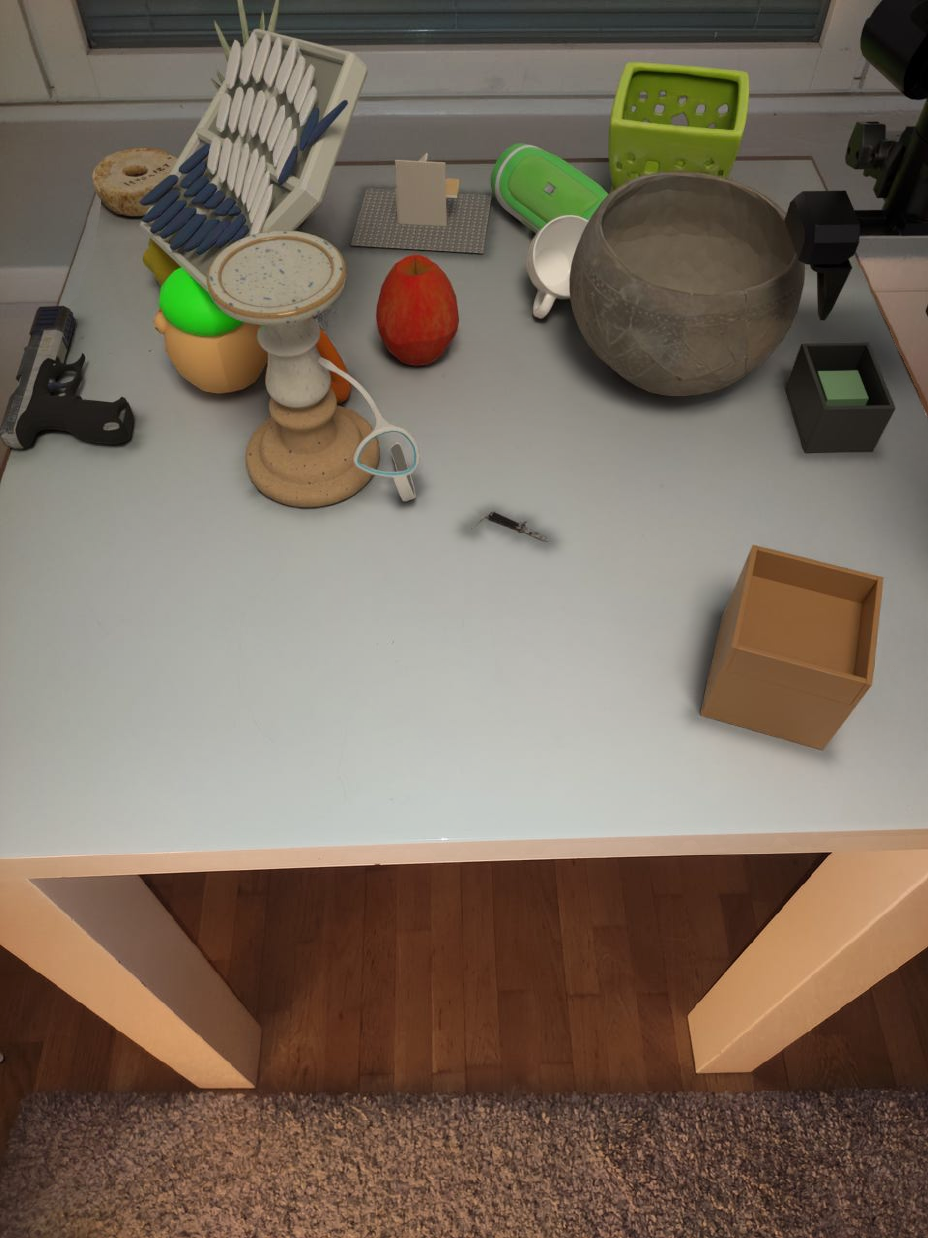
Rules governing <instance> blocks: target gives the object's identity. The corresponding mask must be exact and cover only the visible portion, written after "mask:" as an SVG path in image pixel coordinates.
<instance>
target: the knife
mask: <svg viewBox="0 0 928 1238" xmlns="http://www.w3.org/2000/svg"><path fill="white" fill-rule="evenodd" d="M484 519H488V520H489V521H490V522H494V523H496V524H499V525H502V526H504V527H508V528H510V529H511V530H516V531H517V532H518V533H519V534H521V533H525V534H528V535H530V536H532V537H535V538H537V539H539V540H542V541H546V542H548V541H550V540H549V539H548V538H547V537H546V536H545V535H543V534H542V533H539V532H537V531H535V530H533V529H531V528H528V527H527V526H526V523H528V521H527V520H526V521H525V520H524V521H520V522H517V521H515V520H513V519H511V518H509V517H506V516H504V515H501V514H500V513H498V512H496V511H494V510H493V511H491V512H490V513H489V514H488V513H486V514H485V515H484V516H483V517H482V518H481V519H480V520H478V521H477V522H476V523H475V524H474V525H473V526H471V529H474V528H475V527H476V526H477V525H479V524H480V523H481V522H482V521H483V520H484Z"/></svg>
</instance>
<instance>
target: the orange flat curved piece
mask: <svg viewBox="0 0 928 1238" xmlns="http://www.w3.org/2000/svg"><path fill="white" fill-rule="evenodd" d="M255 325H256V324H255ZM256 326H257V328H258V329H259V327H260V325H256ZM316 347H317V349H318V352H319V354H320V356H321V357H322V358H324V359H326V360H329V361H330V362H332V363H333V364H334V365H335V366H336V367H337V368H338V369H340V370H342V371H343V372H345V373H347V374H348V375H349V372H348V369H347V367H346V365H345V363H344V361H343V358H342V357H341V355H340V352H338V350H337V349H336V347H335V345H334V344H333V342H332V340H331V339H330V338H329V337H328V335H327V334H326V333H325V332H324V330H323V329H322V328H321V327H320V338H319V340H318V342H317V343H316ZM329 372H330V376H331V384H330V388H331V389H332V390H333V392H334V393H335V396H336V399H337V403H343V402H345V401H346V400H348V399H349V397H350V395H351V394H352V393H351V392H352V384H351V383H350V382H349V381H348V380H346V379H345V378H343V377H342V376H340V375H339V374H337V373H336V372H333V371H330V370H329Z"/></svg>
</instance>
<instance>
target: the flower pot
mask: <svg viewBox="0 0 928 1238" xmlns="http://www.w3.org/2000/svg"><path fill="white" fill-rule="evenodd" d="M661 92H665V95H664V96H661ZM641 93H646V98H644V99H640V94H641ZM682 97H685V98H686V100H685V101H684V102H682V103H680V99H681V98H682ZM657 105H659V106H663V107H664V108H663V110H662V112H661V113H659V112H656V107H657ZM699 105H704V110H703V112H702V113H699V112H697V108H698V107H699ZM724 105H726V106H727V111H726V112H725V113H723V114H720V113H719V109H720V108H721V107H722V106H724ZM749 105H750V75H749V74H748V73H747V72H746V71H743V70H735V69H726V68H715V67H707V66H696V65H683V64H672V63H659V62H658V63H657V62H644V61H643V62H641V61H640V62H639V61H629V62H627V63H625V65H624V67H623V69H622V72H621V75H620V78H619V81H618V84H617V87H616V91H615V95H614V99H613V103H612V106H611V112H610V118H609V127H608V150H607V151H608V167H609V172H610V179H611V183H612V185H611V188H610V192H609V194H610V193H611V192H613V191H614V190H616V189H617V188H619V187H620V186H622V185H623V184H625V183H626V182H628V181H629V180H632V179H635V178H637V177H640V176H643V175H647V174H652V173H657V172H667V171H688V172H699V173H706V174H712V175H716V176H720V177H723V178H726V179H729V176H730V173H731V171H732V169H733V167H734V164H735V162H736V159H737V156H738V153H739V150H740V146H741V144H742V143H741V142H742V140H743V137H744V133H745V127H746V124H747V118H748V112H749ZM633 107H635V110H634V111H633V110H632V109H633ZM682 114H683V115H684V117H685V119H686V121H687V126H685V125H676V124H675V125H674V124H673V122H672V119H673V118H675V117H677V116H679V115H682ZM646 121H648V122H646ZM711 125H714V127H713V128H710V126H711Z"/></svg>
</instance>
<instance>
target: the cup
mask: <svg viewBox="0 0 928 1238" xmlns="http://www.w3.org/2000/svg"><path fill="white" fill-rule="evenodd" d="M587 223H588V220H586V219H584V218H582V217H579V216H573V215H566V216H561V217H558V218H555V219H553V220H552V221H550V222H549V223H547V224H546V225H545V226H543V227H542V228H541V229H540V230H539V231H538V232H537V233H535V235H534V236H533V238H532V240H531V241H530V244H529V246H528V248H527V252H526V271H527V275H528V277H529V280H530V281H531V283H532V285H533V286H534V287H535V288H536V290H537V292H536V295H535V298H534V301H533V307H532V314H533V316H534V317H535V318H537V319H539V320H542V319H544V318H545V317H546V316H547V315H548V314H549V313H550V311H551V309H552V307H553V305H554V303H555V301H556V300H570V290H569V278H570V270H571V264H572V260H573V256H574V253H575V250H576V248H577V245H578V243H579V240H580V238H581V235H582V233H583V231H584V229H585V227H586V225H587Z"/></svg>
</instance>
